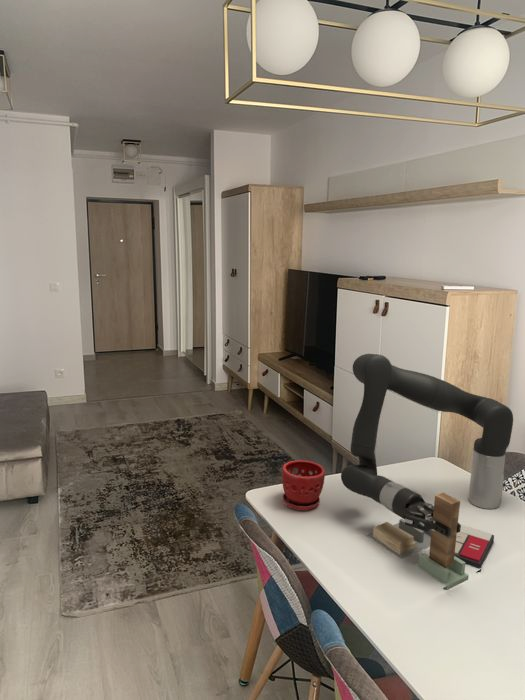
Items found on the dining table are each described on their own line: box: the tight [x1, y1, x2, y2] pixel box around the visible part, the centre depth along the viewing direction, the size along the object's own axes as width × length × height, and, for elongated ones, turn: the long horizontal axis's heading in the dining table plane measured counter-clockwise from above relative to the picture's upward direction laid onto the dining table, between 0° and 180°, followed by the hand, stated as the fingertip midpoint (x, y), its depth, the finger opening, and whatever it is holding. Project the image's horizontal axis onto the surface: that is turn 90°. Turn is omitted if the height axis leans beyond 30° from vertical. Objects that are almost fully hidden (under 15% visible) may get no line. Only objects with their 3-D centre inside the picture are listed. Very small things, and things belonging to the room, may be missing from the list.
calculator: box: [454, 523, 495, 573], centre depth 144 cm, size 11×4×15 cm
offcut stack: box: [372, 521, 416, 554], centre depth 146 cm, size 6×10×3 cm, turn 32°
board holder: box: [414, 553, 469, 591], centre depth 134 cm, size 8×10×4 cm
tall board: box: [428, 492, 461, 568], centre depth 132 cm, size 3×5×17 cm, turn 32°
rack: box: [366, 518, 432, 559], centre depth 148 cm, size 16×13×4 cm
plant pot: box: [281, 459, 326, 511], centre depth 168 cm, size 13×13×12 cm
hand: (454, 530), depth 130 cm, fingers closed on tall board, 3 cm apart
